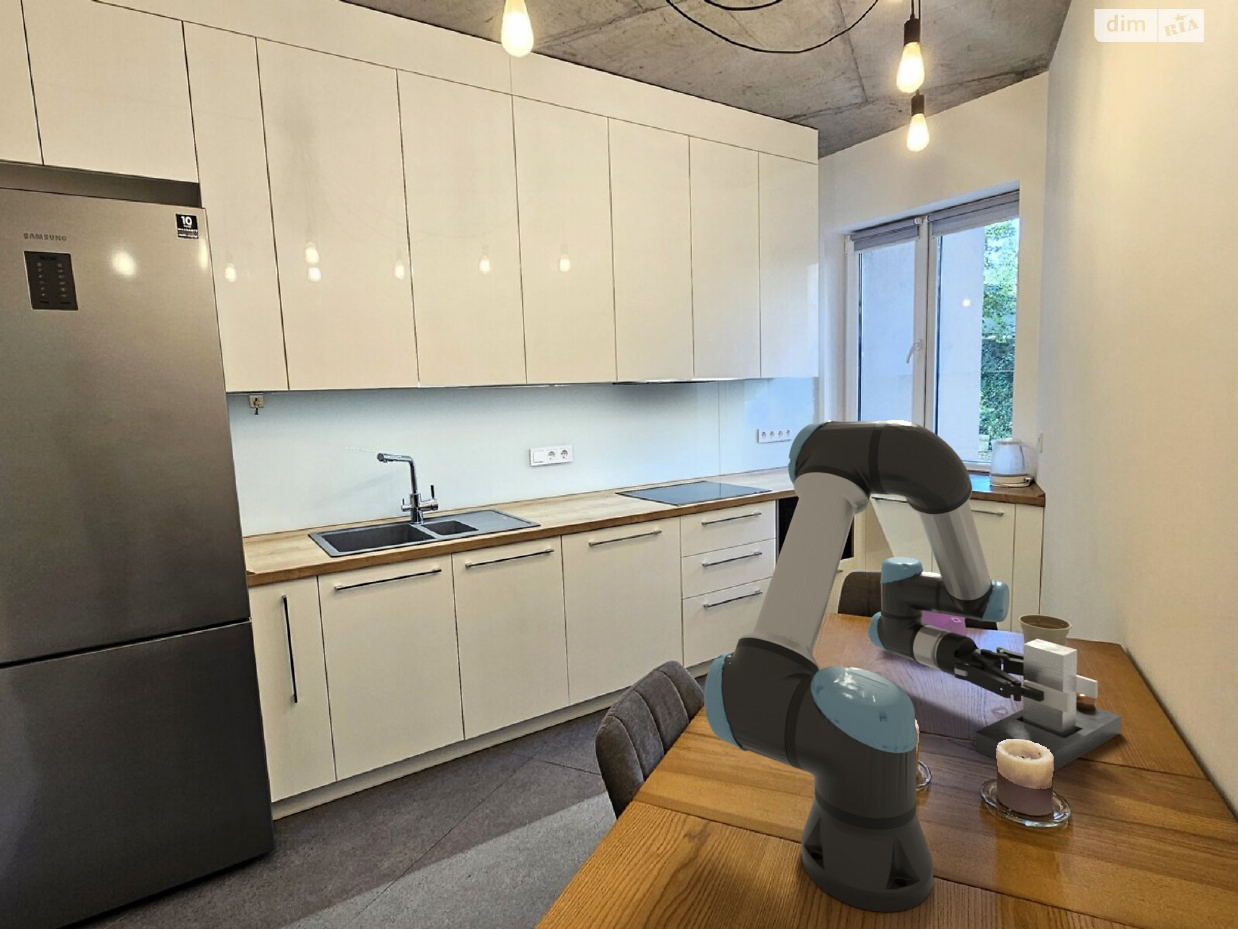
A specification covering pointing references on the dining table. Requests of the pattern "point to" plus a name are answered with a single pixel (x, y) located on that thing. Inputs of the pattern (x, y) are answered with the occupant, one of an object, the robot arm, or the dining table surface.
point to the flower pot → (1044, 628)
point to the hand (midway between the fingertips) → (1082, 696)
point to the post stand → (1089, 734)
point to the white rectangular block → (1050, 685)
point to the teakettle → (945, 622)
